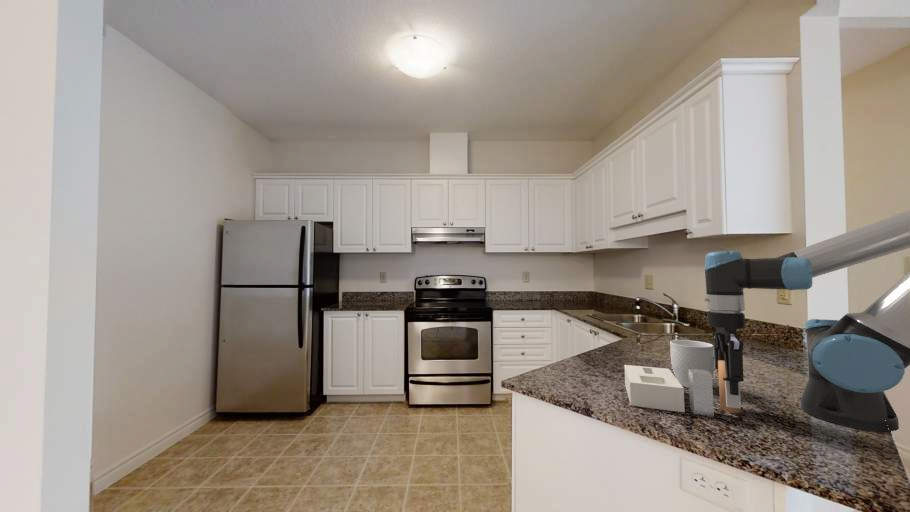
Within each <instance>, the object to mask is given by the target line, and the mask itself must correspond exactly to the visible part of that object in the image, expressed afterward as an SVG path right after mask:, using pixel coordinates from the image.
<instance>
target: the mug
mask: <svg viewBox="0 0 910 512" xmlns="http://www.w3.org/2000/svg"><path fill="white" fill-rule="evenodd" d="M669 344H670V347H669V348H670V349H669V350H670V353H669V354H670V363H671V368H672V370H673V371H672V373H673V375H674V376H675V377H676V379H677V380H678V381H679V383H680V384H681V385H682V387H683V388H688V389H689V374H688V369H698V370H707V371H708V372H709V373H711V374H712V385H713V384H715V385H716V384H718V385H719V379H718V380H716V379H713V376H714V373H715V372H714V371H715V355H714V344H713V343H708V342H704V341H700V340H699V341H698V340H689V339H688V340H687V339H673V340H670V341H669Z"/></svg>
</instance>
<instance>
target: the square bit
mask: <svg viewBox="0 0 910 512" xmlns="http://www.w3.org/2000/svg"><path fill="white" fill-rule="evenodd" d="M688 374H689V388H688V393H689V408H690V410H691V411H692V413H693V414H694V415H699V414H700V415H701V416H707V415H711V416H710V417H715V413H714V412H715V411H714V390H713V383H712V379H713V377H712V374H711V373H709V372H708V371H707V370H698V369H688Z"/></svg>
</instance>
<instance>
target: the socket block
mask: <svg viewBox="0 0 910 512" xmlns="http://www.w3.org/2000/svg"><path fill="white" fill-rule="evenodd" d="M624 385H625V389H626V393H627V396H628V400H629V405H630V406H632V407H641V408H646V409H647V408H648V409H653V410H654V409H656V410H663V411H670V412H671V411H672V412H679V413H685V389H684V388H685V387H684V386H682V385H681V384H680V383H679V381H678V380H677V379H676V377H675V374H674V372H673V371H671V369H670V368H666V367H665V368H664V367H655V366H654V367H653V366H642V365H630V364H624Z"/></svg>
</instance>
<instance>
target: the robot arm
mask: <svg viewBox="0 0 910 512" xmlns="http://www.w3.org/2000/svg"><path fill="white" fill-rule="evenodd" d="M907 249H910V209H909V210H906V211H904V212H901V213H898V214H895V215H892V216H889V217H886V218H884V219H881V220H878V221H875V222H873V223H870V224H867V225H864V226H862V227H858V228H856V229H853V230H850V231H847V232H844V233H842V234H839V235H836V236H833V237H831V238H827V239H824V240H822V241H820V242H816V243H814V244H811V245H808V246H805V247H802V248H800V249H796V250H794V251H791V252H788V253H785V254H783V255H780V256H776V257H769V258H766V257H764V258H763V257H762V258H747V257H746V258H743V256H742V252H740V251H737V250H733V251H728V250H727V251H726V250H725V251H712V252H708V253H706V255H705V257H704V258H705V259H704V260H705V261H704V266H705V267H704V277H705V279H704V280H705V290H706V297H704V298H703V301H704V302H706V307H707V309H708V311H707V315H706V316H707V319H706V320H707V325H708V326H711V327H714V328H716V331H713V332H712V334H711V335H712V339H713V348H714V355H715V359H714V369H716V370H717V371H716V372H718V360H725V369H726V378H723V380H724V381H725V391H726V406H727V407H732V408H740V409H742V406H741V405H742V403H741V401H742V400H741V382H744V380H745V379H744V359H743V357H744V356H743V355H744V354H743V353H744V352H743V349H744V342H743V340H740V337H739V335H738V332H737V329H744V328H745V327H746V316H745V313H743V312H745V310H746V309H745V308H746V307H745V305H746V304H745V295H744V289H747V290H748V289H750V290H751V289H755V290H756V289H757V290H788V291H797V290H809V289H811V288H812V287H813V278H816V277H819V276H822V275H825V274H829V273H832V272H836V271H839V270H842V269H845V268H848V267H851V266H855V265H858V264H862V263H866V262H867V261H871V260H876V259H878V258H881V257H885V256H888V255H891V254H894V253H897V252H902V251H904V250H907ZM805 323H806V324H805V328H804V332H805V334H806V349H807V350H806V351H807V364H808V381H807V383H806V385H805V387H804V391H803V393H802V394H801V398H800V408H801V410H802V411H803V412H805V413H806V414H809V415H811V416H813V417H815V418H818V419H820V420H823V421H827V422H828V423H829V422H830V423H832V424H833V423H834V424H838V425H841V426H845V427H850V428H855V429H859V430H860V429H861V430H868V431H876V432H895V431H898V430H899V429H900V424H899V418H898V416H897V414H896V412H895V410H894V407H893V406H892V404H891V402H890V401H889V399H888V396H887V395H886V393H885V392H886V391H889V390H891V389H893V388H894V387H896V386H897V385H899V384H900V382H901V381H902V380H903V378H904V375H905V371H906V370H905V369H906V368H907V367H909V366H910V270H909V271H908V272H907V273H905V275H904V276H902V277H901V278H900V279H898V281H896V282H895V283H894V284H893V285H892V286H891V287H889V289H887V290H886V291H885V292H884V293H883V294H882V295H881V296H879V297H878V298H877V299H876V300H875V301H874V302H872V303H871V304H870V305H869V306H868V307H867V308H866V309H865V310H863V311H862V312H850V313H849V312H848V313H846V314H845V315H843V316H842V317H841V318H840V319H839V320H838V319H819V318H817V319H815V318H813V319H811V318H810V319H809V320H807V321H806V322H805ZM885 420H886V421H885ZM887 425H888V426H887ZM888 428H889V430H890V431H889V430H888Z"/></svg>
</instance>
